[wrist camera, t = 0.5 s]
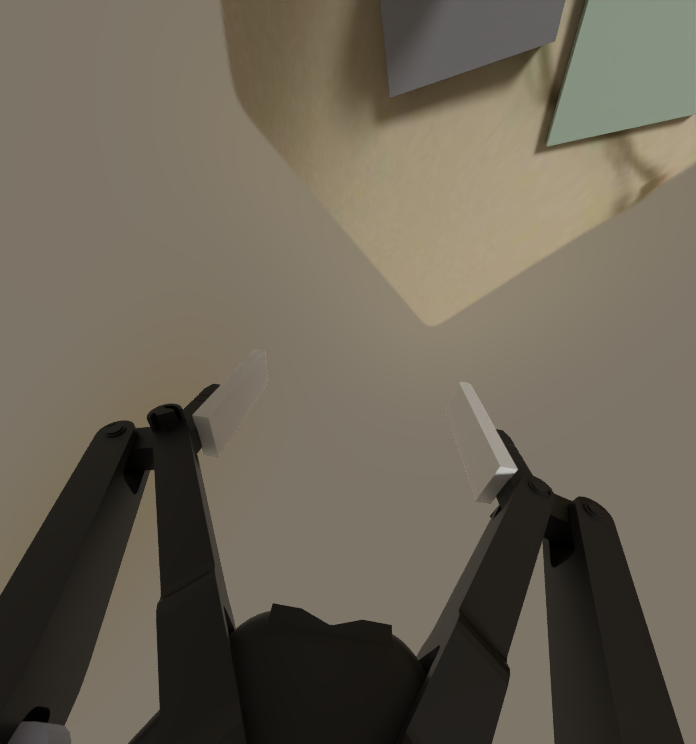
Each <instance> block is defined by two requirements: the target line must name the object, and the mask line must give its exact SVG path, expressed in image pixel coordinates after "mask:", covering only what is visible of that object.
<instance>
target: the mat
mask: <svg viewBox="0 0 696 744" xmlns="http://www.w3.org/2000/svg"><path fill="white" fill-rule="evenodd" d="M694 114H696V0H586V1H585V5H584V8H583V12H582V15H581V19H580V22H579V26H578V29H577V33H576V36H575V40H574V44H573V47H572V51H571V54H570V58H569V61H568V65H567V68H566V72H565V75H564V79H563V82H562V86H561V90H560V93H559V97H558V100H557V104H556V107H555V111H554V114H553V118H552V121H551V125H550V128H549V132H548V136H547V139H546V147H547V146H552V145H556V144H561V143H566V142H570V141H575V140H579V139H584V138H589V137H593V136H598V135H602V134H607V133H612V132H616V131H621V130H625V129H630V128H635V127H639V126H644V125H648V124H653V123H658V122H662V121H667V120H671V119H676V118H681V117H685V116H690V115H694Z"/></svg>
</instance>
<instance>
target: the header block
mask: <svg viewBox="0 0 696 744" xmlns="http://www.w3.org/2000/svg"><path fill="white" fill-rule="evenodd" d="M564 3H565V0H380V6H381V17H382V27H383V37H384V47H385V57H386V67H387V77H388V87H389V97H390V98H391V97H394V96H397V95H400V94H403V93H406V92H409V91H412V90H415V89H418V88H420V87H423V86H426V85H429V84H432V83H435V82H438V81H441V80H444V79H447V78H450V77H452V76H455V75H458V74H461V73H464V72H467V71H470V70H473V69H476V68H479V67H482V66H484V65H487V64H490V63H493V62H496V61H499V60H502V59H505V58H508V57H511V56H514V55H516V54H519V53H522V52H525V51H528V50H531V49H534V48H537V47H540V46H543V45H546V44H548V43H551V42H554V41H555V40H556V36H557V32H558V28H559V23H560V19H561V15H562V11H563V7H564Z"/></svg>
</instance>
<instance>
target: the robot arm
mask: <svg viewBox="0 0 696 744" xmlns="http://www.w3.org/2000/svg"><path fill="white" fill-rule="evenodd" d="M267 384H268V379H267V365H266V351H264V350H258V349H254V350H253V351H252V352H251V353H250V354H249V355H248V356H247V358H246V359H245V360H244V361H243V362H242V363H241V364H240V365H239V366H238V367H237V368H236V369H235V370H234V371H233V372H232V374H230V376H229V377H228V378H227V379H226V380H225V381H224V382H223V383H222V384H221V385H218V384H212V385H210V386H208V387H207V388H205V389H204V390H203V391H202V392H201V393H200V394H199V395H198V396H197V397H196V398H195V399H194V400H193V401H191V402H190V403H189V405H187V406H186V407H185V408H184V409H182V408H181V406H180V405H177V404H164V405H161V406H158V407H156V408H155V409H153V410H151V411H150V412H149V413H148V415H147V420H148V422H149V425H150V427H145V428H136V427H135V425H134V424H133V423H132V422H130V421H117V422H113V423H111V424H108V425H106V426H104V427H103V428H101V429H100V430H99V431H98V432H97V434H96V435H95V437H94V438H93V440H92V442H91V443H90V445H89V447H88V448H87V450H86V452H85V453H84V455H83V457H82V458H81V460H80V462H79V463H78V465H77V467H76V469H75V470H74V472H73V474H72V475H71V477H70V479H69V480H68V482H67V484H66V486H65V487H64V489H63V490H62V492H61V494H60V496H59V498H58V499H57V501H56V502H55V504H54V506H53V507H52V509H51V511H50V512H49V514H48V516H47V517H46V519H45V521H44V523H43V524H42V526H41V528H40V530H39V531H38V533H37V534H36V536H35V538H34V540H33V541H32V543H31V545H30V546H29V548H28V550H27V551H26V553H25V555H24V556H23V558H22V560H21V561H20V563H19V565H18V567H17V568H16V570H15V572H14V573H13V575H12V577H11V578H10V580H9V582H8V583H7V585H6V587H5V589H4V590H3V592H2V594H1V595H0V744H71V738H70V732H69V731H68V729H67V728H66V727H65V726H64V725H65V723H66V721H67V718H68V716H69V714H70V712H71V709H72V707H73V705H74V703H75V700H76V698H77V696H78V694H79V691H80V688H81V686H82V683H83V680H84V677H85V675H86V672H87V669H88V666H89V663H90V660H91V657H92V653H93V651H94V647H95V644H96V641H97V638H98V635H99V631H100V628H101V625H102V622H103V619H104V615H105V612H106V609H107V606H108V603H109V599H110V596H111V593H112V590H113V587H114V584H115V581H116V577H117V574H118V571H119V568H120V565H121V561H122V558H123V555H124V552H125V549H126V545H127V542H128V539H129V536H130V533H131V530H132V527H133V523H134V520H135V517H136V514H137V511H138V508H139V504H140V501H141V498H142V495H143V492H144V488H145V485H146V482H147V479H148V476H149V473H150V470H154V471H155V489H156V508H157V526H158V546H159V565H160V582H161V598H160V600H159V602H158V604H157V610H156V625H157V651H158V674H159V675H158V676H159V700H160V710H159V711H158V712H157V713H156V714H155V715H154V716H153V717H152V718H151V719H150V720H149V722H148V723H147V724H146V725H145V726H144V727H143V728H142V729H141V730H140V731H139V732H138V733H137V734H136V736H134V738H133V739H132V740H131V741H130V742H129V743H128V744H492V741H493V737H494V733H495V730H496V726H497V722H498V719H499V716H500V712H501V708H502V705H503V701H504V698H505V694H506V691H507V687H508V683H509V678H510V668H509V666H508V664H507V656H508V652H509V649H510V645H511V642H512V639H513V635H514V632H515V629H516V626H517V622H518V619H519V616H520V612H521V609H522V606H523V602H524V599H525V596H526V593H527V589H528V585H529V583H530V579H531V576H532V573H533V569H534V566H535V563H536V560H537V556H538V553H539V550H540V546H541V543H542V540H543V555H544V556H543V557H544V573H545V590H546V607H547V624H548V639H549V656H550V657H549V658H550V673H551V674H550V675H551V691H552V708H553V725H554V741H555V744H684V741H683V738H682V735H681V732H680V728H679V726H678V722H677V719H676V716H675V713H674V710H673V706H672V703H671V700H670V697H669V694H668V691H667V688H666V684H665V681H664V678H663V675H662V672H661V669H660V666H659V662H658V659H657V656H656V653H655V649H654V646H653V643H652V640H651V637H650V634H649V631H648V627H647V624H646V621H645V618H644V615H643V612H642V608H641V605H640V602H639V599H638V596H637V593H636V589H635V586H634V583H633V580H632V577H631V574H630V571H629V567H628V564H627V561H626V558H625V555H624V552H623V548H622V545H621V542H620V539H619V536H618V533H617V530H616V526H615V523H614V520H613V519H612V517H611V515H610V514H609V513H608V512H607V511H606V509H605V508H603V507H602V506H601V505H599V504H598V503H597V502H595V501H593V500H591V499H589V498H586V497H577V498H576V499H575V500H573V501H570V500H568V499H565V498H563V497H561V496H558V495H556V494H554V493H553V492H552V489H551V488H550V487H549V486H548V485H547V484H546V483H545V482H543V481H542V480H541V479H539V478H536V477H535V476H533V475H532V473H531V472H530V470H529V468H528V467H527V465H526V463H525V462H524V460H523V458H522V457H521V455H520V454H519V451H518V450H517V448H516V447H515V445H514V443H513V441H512V440H511V438H510V437H509V436H508V435H507V434H506V433H505V432H504V431H503V430H498V429H495V427H494V425H493V424H492V422H491V420H490V418H489V416H488V415H487V413H486V411H485V409H484V407H483V406H482V404H481V402H480V400H479V398H478V397H477V395H476V393H475V391H474V389H473V388H472V386H471V384H470V383H465V382H458V384H457V387H456V389H455V391H454V393H453V395H452V398H451V400H450V402H449V404H448V407H447V409H446V411H445V414H446V417H447V420H448V423H449V426H450V429H451V432H452V435H453V438H454V440H455V443H456V446H457V449H458V452H459V455H460V458H461V461H462V464H463V467H464V470H465V473H466V476H467V478H468V481H469V484H470V487H471V490H472V493H473V496H474V499H475V501H477V502H483V503H489V504H491V503H492V501H493V500H494V499H495V498H496V497H497V500H498V502H499V506H498V507H497V508H496V509H495V511H494V512H493V513H492V514H491V516H490V517H491V520H490V522H489V524H488V525H487V527H486V529H485V531H484V533H483V535H482V537H481V539H480V541H479V543H478V545H477V547H476V549H475V551H474V553H473V554H472V556H471V558H470V560H469V562H468V564H467V566H466V568H465V570H464V572H463V573H462V575H461V577H460V579H459V581H458V583H457V585H456V587H455V589H454V591H453V593H452V594H451V596H450V598H449V600H448V602H447V604H446V606H445V608H444V610H443V612H442V614H441V616H440V618H439V619H438V622H437V623H436V625H435V627H434V629H433V631H432V633H431V634H430V636H429V638H428V639H427V640H426V642H425V643H424V645H423V646H422V648H421V649H420V651H419V653H418V655H417V657H416V656H415V655H414V653H413V652H412V651H411V650H410V648H408V647H407V645H406V644H405V643H404V642H402V641H401V640H400V639H399V638H397V637H396V636H394V635H393V634H392V625H388V624H382V623H377V622H372V621H366V620H358V621H354V622H348V623H342V624H337V625H329V624H327V623H325V622H323V621H322V620H320V619H318V618H317V617H315V616H313V615H311V614H310V613H308V612H307V611H305V610H303V609H301V608H295V607H290V606H284V605H279V604H273V605H272V608H271V611H269V612H264V613H261V614H258V615H256V616H254V617H252V618H250V619H249V620H247V621H246V622H244V623H243V624H241V625H240V626H239V627H238V628H237V629H236V628H235V623H234V619H233V614H232V610H231V607H230V603H229V599H228V595H227V591H226V586H225V582H224V577H223V572H222V567H221V563H220V558H219V553H218V549H217V544H216V539H215V535H214V530H213V525H212V521H211V516H210V511H209V507H208V502H207V497H206V493H205V488H204V483H203V479H202V474H201V469H200V465H199V460H198V456H197V453H198V452H199V450H200V449H201V448H202V450H203V453H204V455H207V456H213V457H219V456H220V455H221V453H222V452H223V450H224V449H225V447H226V445H227V444H228V443H229V441H230V439H231V438H232V437H233V435H234V433H235V432H236V430H237V429H238V427H239V426H240V425H241V423H242V422H243V420H244V419H245V417H246V416H247V414H248V413H249V411H250V410H251V408H252V406H253V405H254V404H255V402H256V401H257V399H258V397H259V396H260V395H261V393H262V392H263V390H264V389H265V387H266V386H267Z"/></svg>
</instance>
